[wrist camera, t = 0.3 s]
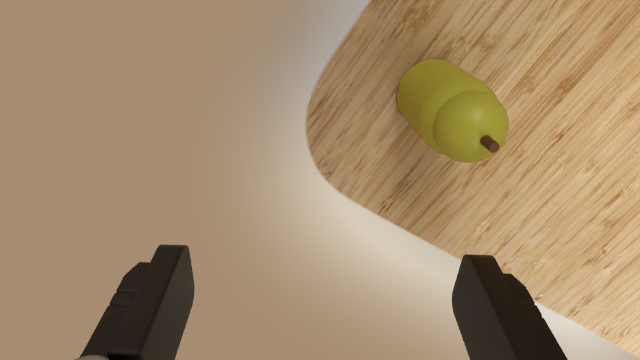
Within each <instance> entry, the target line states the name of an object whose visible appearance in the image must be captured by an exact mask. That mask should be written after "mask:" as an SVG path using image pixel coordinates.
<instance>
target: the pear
mask: <svg viewBox="0 0 640 360" xmlns="http://www.w3.org/2000/svg"><path fill="white" fill-rule="evenodd" d="M397 105H398V108H399V110H400V112H401V114H402V115H403V116H404V118H405V119H406V120H407V121H408V122H409V124H410V125H411V126H412V127H413V128H414V130H415V131H416V132H417V133H418V134H419V135H420V137H421V138H422V139H423V140H424V141H425V143H426V144H428V145H429V146H430V147H431V148H432V149H434V150H435V151H437V152H439V153H442V154H445V155H447V156H448V157H450V158H452V159H454V160H457V161H460V162H468V163H470V162H478V161H482V160H484V159H487V158H489V157H490V156H492V155H493V154H495V153H496V152H497V151H498V150H499V149H500V148H501V146H502V145H503V143H504V142H505V139H506V137H507V134H508V129H509V122H508V116H507V113H506V111H505V109H504V107H503V105H502V104H501V103H500V102H499V101H498V100H497V97H496V95H495V94H494V92H493V91H492V89H491V88H490V87H489V86H488V85H487V84H485V83H484V82H483V81H481V80H479V79H478V78H476V77H474V76H473V75H471V74H469V73H467V72H466V71H464V70H462V69H461V68H459V67H457V66H455V65H454V64H452V63H450V62H449V61H446V60H443V59H436V58H435V59H427V60H424V61H421V62H419V63H417V64H416V65H414V66H413V67H412V68H410V69H409V70H408V71H407V72H406V74H405V75H404V76H403V78H402V79H401V81H400V84H399V86H398V90H397Z"/></svg>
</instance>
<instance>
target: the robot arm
mask: <svg viewBox="0 0 640 360" xmlns="http://www.w3.org/2000/svg"><path fill="white" fill-rule="evenodd" d="M193 299H194V280H193V273H192V266H191V259H190V253H189V248H188V246H186V245H160V246H159V247H158V248H157V250H156V252H155V254H154V256H153V258H152V260H151V262H150V263H145V262H140V263H138V264H137V265H136V266H135V267H133V268H132V269H131V270H130V271H129V272H128V273H127V274H126V275H125V276H124V277H123V280H122V281H121V283H120V285H119V287H118V288H117V292H116V293H115V294H114V296H113V298H112V300H111V302H110V306H108V307H107V309H106V311H105V312H104V314H103V316H102V318H101V320H100V322H99V323H98V325H97V327H96V329H95V331H94V333H93V335H92V336H91V338H90V340H89V342H88V344H87V346H86V347H85V349H84V351H83V353H82V354H81V356H80V357H79V358H77V359H75V360H175V357H176V354H177V350H178V347H179V344H180V341H181V338H182V335H183V332H184V329H185V326H186V323H187V320H188V316H189V313H190V310H191V307H192V303H193ZM452 307H453V312H454V315H455V318H456V321H457V323H458V326H459V329H460V332H461V335H462V338H463V341H464V343H465V346H466V349H467V352H468V355H469V357H470V360H567V358H566V356H565V354H564V353H563V351H562V349H561V347H560V346H559V344H558V342H557V340H556V339H555V337H554V335H553V334H552V332H551V330H550V329H549V327H548V325H547V323H546V321H545V320H544V318H542V315H541V313H540V311H539V309H538V308H537V306H536V305H534V301H533V299H532V297H531V295H530V294H529V292H528V290H527V289H526V287H525V286H524V285H523V284H522V283H521V282H519V281H518V280H517V279H516V278H515V277H514V276H513V275H512V274H503V273H502V271H501V269H500V267H499V265H498V263H497V261H496V260H495V258H494V257H493V256H491V255H464V257H463V258H462V261H461V265H460V268H459V273H458V275H457V279H456V282H455V286H454V289H453V293H452Z"/></svg>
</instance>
